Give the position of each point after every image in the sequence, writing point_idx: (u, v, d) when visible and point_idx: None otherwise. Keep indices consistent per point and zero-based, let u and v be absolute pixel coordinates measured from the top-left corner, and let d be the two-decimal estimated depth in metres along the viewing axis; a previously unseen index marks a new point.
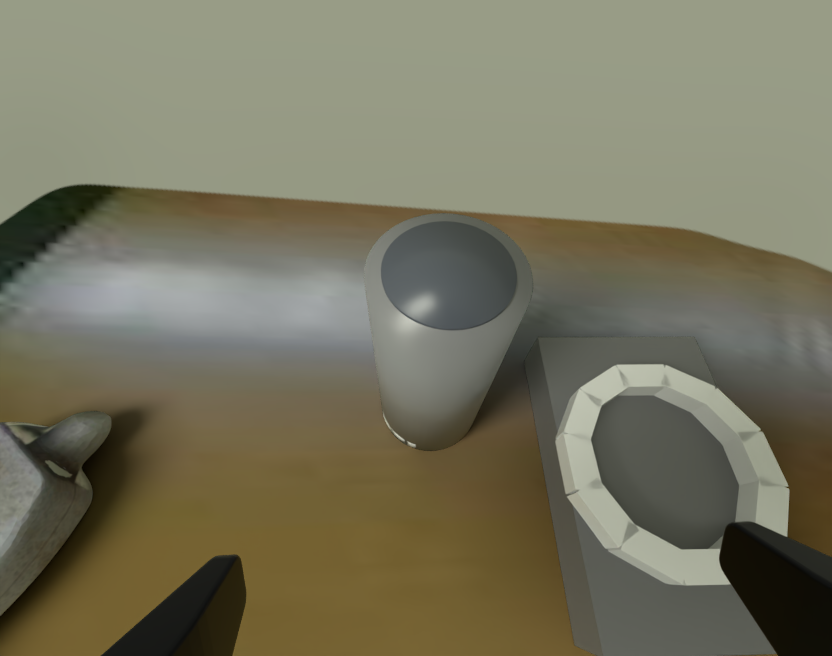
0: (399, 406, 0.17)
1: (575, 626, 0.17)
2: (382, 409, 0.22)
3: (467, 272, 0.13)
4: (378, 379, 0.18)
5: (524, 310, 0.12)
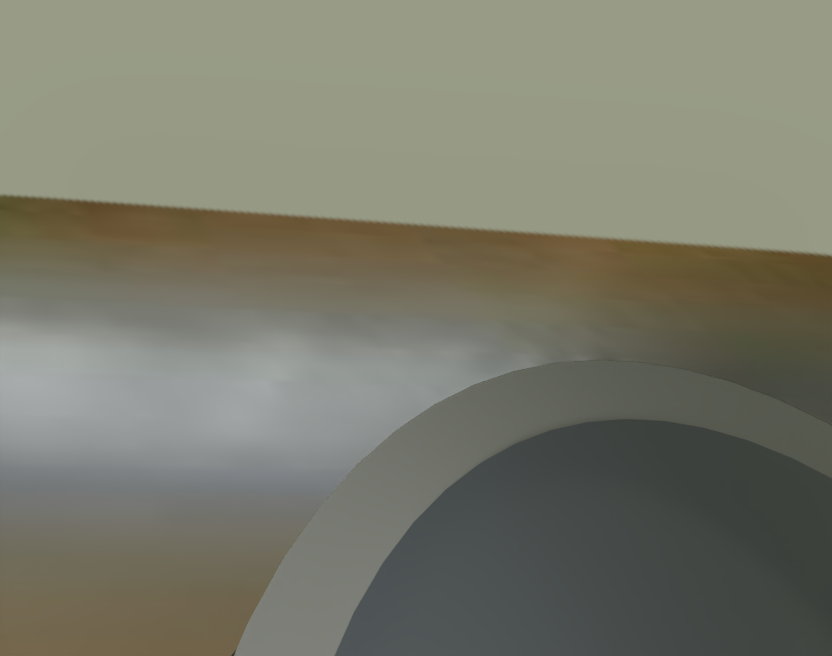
0: None
1: None
2: None
3: None
4: None
5: None
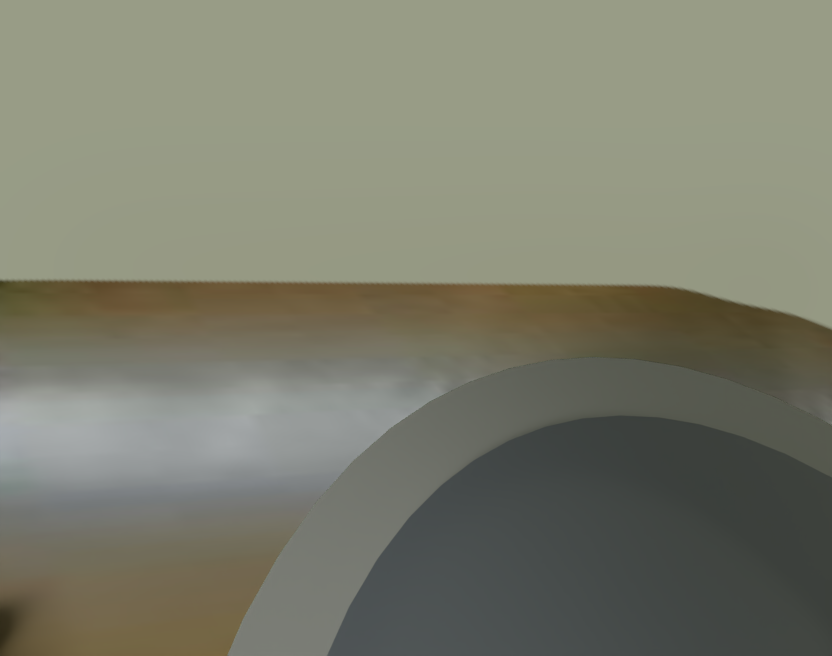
0: None
1: None
2: None
3: None
4: None
5: None
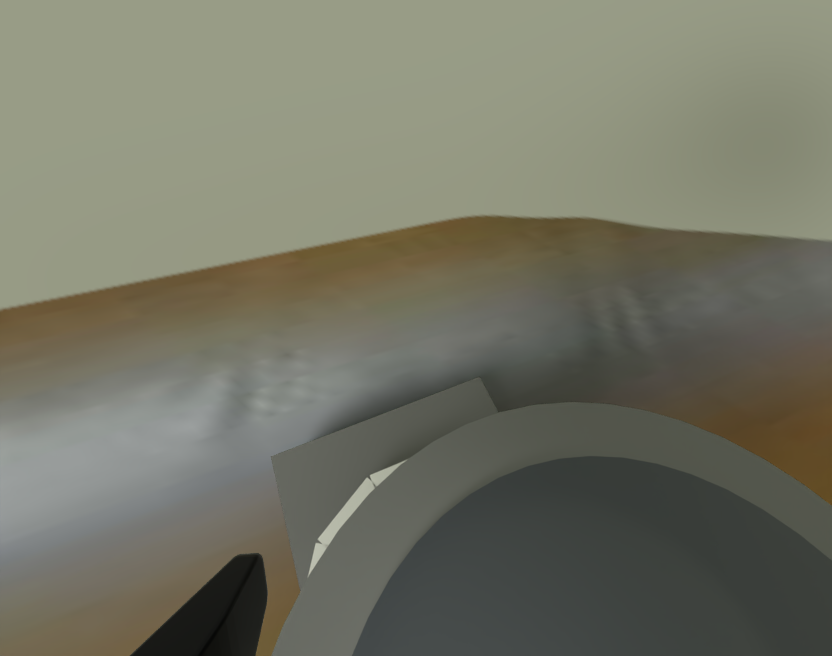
0: None
1: None
2: None
3: None
4: None
5: None
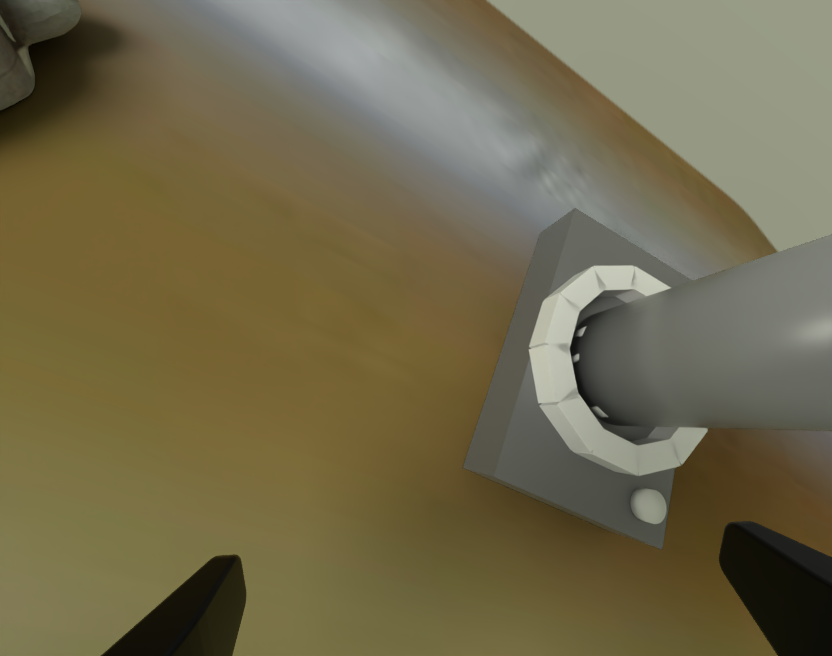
0: (680, 358, 0.13)
1: (473, 453, 0.18)
2: (586, 333, 0.18)
3: None
4: (671, 310, 0.14)
5: None
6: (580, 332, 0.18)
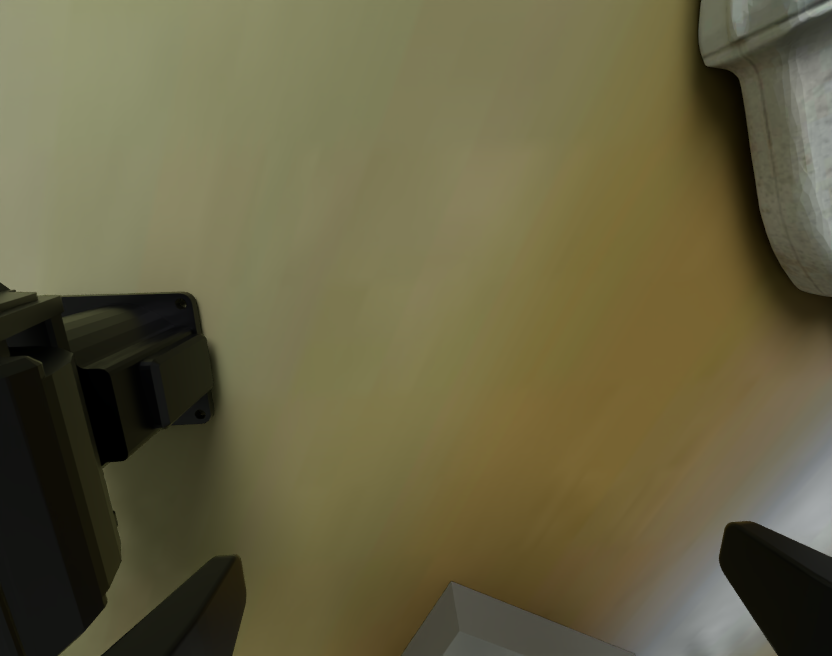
0: None
1: (463, 594, 0.23)
2: None
3: None
4: None
5: None
6: None
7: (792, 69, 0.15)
